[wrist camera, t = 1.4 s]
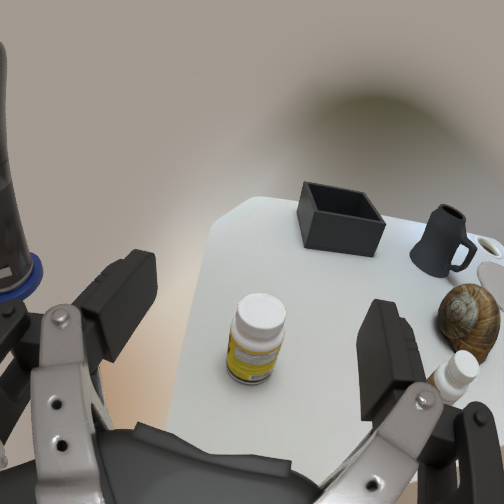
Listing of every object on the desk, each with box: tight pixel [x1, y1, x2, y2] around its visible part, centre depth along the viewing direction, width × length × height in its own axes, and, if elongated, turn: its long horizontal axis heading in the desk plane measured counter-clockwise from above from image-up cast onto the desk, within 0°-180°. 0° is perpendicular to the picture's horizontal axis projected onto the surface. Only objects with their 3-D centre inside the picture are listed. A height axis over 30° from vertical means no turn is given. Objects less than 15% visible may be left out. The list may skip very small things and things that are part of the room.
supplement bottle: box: [226, 293, 286, 384], centre depth 26 cm, size 5×5×8 cm
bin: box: [297, 182, 386, 257], centre depth 51 cm, size 12×12×7 cm
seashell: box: [438, 284, 500, 364], centre depth 32 cm, size 11×9×8 cm
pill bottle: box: [426, 350, 479, 406], centre depth 23 cm, size 4×4×8 cm
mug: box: [410, 204, 477, 278], centre depth 46 cm, size 12×9×11 cm
